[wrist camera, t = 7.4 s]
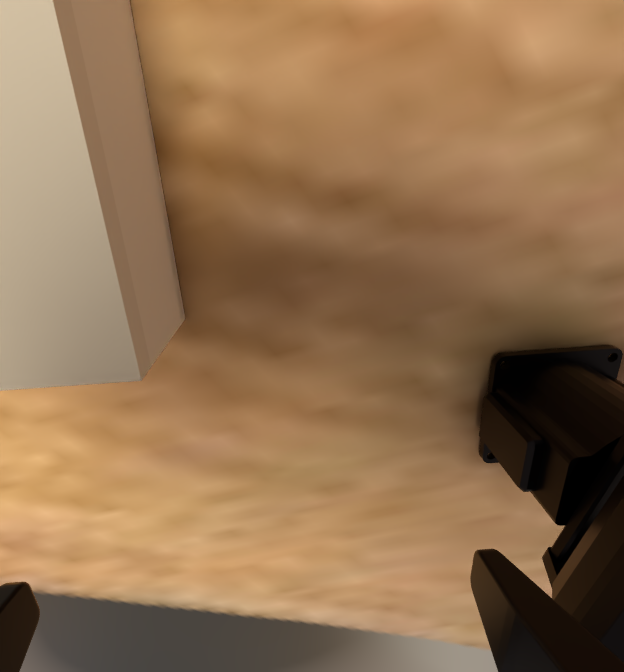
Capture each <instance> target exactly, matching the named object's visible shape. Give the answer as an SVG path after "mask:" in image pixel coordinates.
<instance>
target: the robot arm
mask: <svg viewBox="0 0 624 672" xmlns="http://www.w3.org/2000/svg"><path fill="white" fill-rule="evenodd" d="M610 354H611V356H610V357H609V358H608V356H609V355H610ZM622 355H623V353H622V351H621V350H620V349H618V348H616V347H614V346H611V345H606V346H591V347H577V348H562V349H548V350H534V351H519V352H505V353H499V354H497V355H496V356H495V357H494V358H493V360H492V363H491V370H490V378H489V385H488V392H487V394H486V395H485V397H484V403H483V410H482V417H481V425H480V432H479V436H480V438H481V443H480V450H479V454H480V456H481V457H482V459H483V460H484V462H486V463H498V462H499V463H500V464H501V465H502V467H503V468H504V469H505V471H506V472H507V473H508V475H509V476H510V477H511V479H512V480H513V481H514V483H515V484H516V485H517V486H518V488H520V489H521V490H522V491H523V492H529V491H530V492H531V493H532V494H533V495H534V497H535V498H536V499H537V501H538V502H539V503H540V504H541V506H542V507H543V508H544V509H545V511H546V512H547V513H548V514H549V516H550V517H551V518H552V520H553V521H554V522H555V523H556V524H557V525H565V527H564V528H563V530H562V532H561V533H560V535H559V536H558V538H557V540H556V541H555V543H554V544H553V546H552V547H548V549H547V550H546V552H545V553H544V555H543V557H542V559H543V562H544V565H545V568H546V571H547V574H548V578H549V581H550V584H551V587H552V598H551V597H550V596H548V595H547V594H546V593H545V592H544V591H543V590H542V589H541V588H539V587H538V586H537V585H536V584H535V583H534V582H533V581H532V580H531V579H529V578H528V577H527V576H526V575H525V574H524V573H523V572H522V571H520V570H519V569H518V568H517V567H516V566H515V565H514V564H513V563H511V562H510V561H509V560H508V559H507V558H506V557H505V556H504V555H502V554H501V553H500V552H499V551H497V550H495V549H482V550H477V551H476V552H475V554H474V558H473V565H472V571H471V578H470V579H471V587H472V591H473V594H474V598H475V601H476V604H477V607H478V610H479V613H480V616H481V619H482V623H483V626H484V629H485V632H486V635H487V638H488V641H489V645H490V648H491V651H492V654H493V657H494V660H495V663H496V666H497V669H498V672H624V384H623V383H622V382H620V381H618V380H617V379H616V378H617V375H618V371H619V367H620V364H621V360H622ZM503 361H506V363H505V364H504V365H503V366H500V365H501V363H502V362H503ZM490 452H492V453H491V454H489V453H490ZM488 454H489V455H488ZM39 615H40V609H39V606H38V603H37V601H36V599H35V596H34V594H33V592H32V589H31V587H30V585H29V584H28V583H26V582H13V583H6V584H3V585H1V586H0V672H19V671H20V669H21V666H22V663H23V661H24V658H25V656H26V653H27V650H28V648H29V645H30V642H31V640H32V637H33V635H34V632H35V629H36V627H37V624H38V621H39Z"/></svg>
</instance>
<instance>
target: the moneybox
mask: <svg viewBox="0 0 624 672" xmlns="http://www.w3.org/2000/svg"><path fill="white" fill-rule="evenodd" d="M184 320H185V314H184V308H183V303H182V297H181V291H180V285H179V280H178V274H177V268H176V263H175V257H174V251H173V245H172V240H171V234H170V228H169V222H168V217H167V211H166V205H165V200H164V194H163V188H162V182H161V177H160V171H159V165H158V160H157V154H156V148H155V142H154V137H153V131H152V125H151V120H150V114H149V108H148V102H147V97H146V91H145V85H144V79H143V74H142V68H141V62H140V57H139V51H138V45H137V39H136V34H135V28H134V22H133V17H132V11H131V5H130V0H0V391H2V390H16V389H31V388H45V387H59V386H74V385H88V384H102V383H117V382H131V381H142V379H143V378H144V377H145V375H146V374H147V372H148V371H149V369H150V368H151V367H152V365H153V364H154V362H155V361H156V360H157V358H158V357H159V355H160V354H161V353H162V351H163V350H164V348H165V347H166V346H167V344H168V343H169V341H170V340H171V338H172V337H173V336H174V334H175V333H176V331H177V330H178V329H179V327H180V326H181V324H182V323H183V322H184Z"/></svg>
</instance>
